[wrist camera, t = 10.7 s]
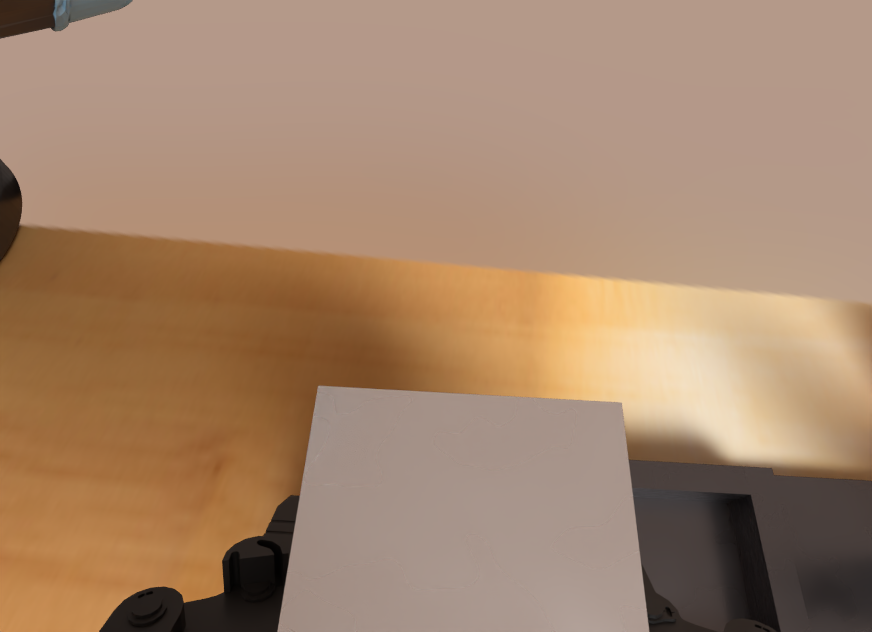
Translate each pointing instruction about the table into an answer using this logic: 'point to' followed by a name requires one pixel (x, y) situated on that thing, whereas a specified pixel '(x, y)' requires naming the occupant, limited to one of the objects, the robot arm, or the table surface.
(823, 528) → the dark grey post stand
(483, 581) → the light grey tall block
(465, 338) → the table surface
